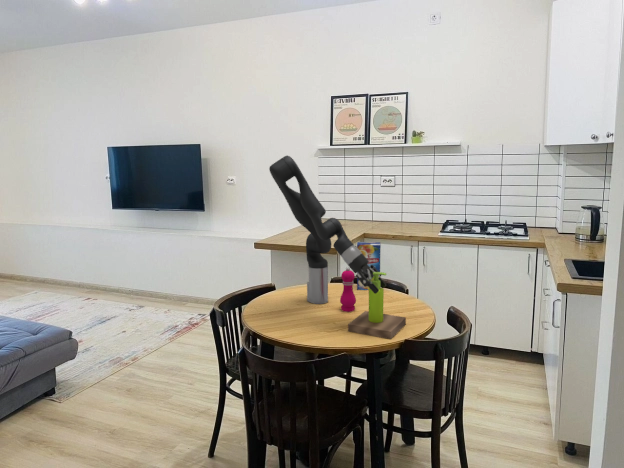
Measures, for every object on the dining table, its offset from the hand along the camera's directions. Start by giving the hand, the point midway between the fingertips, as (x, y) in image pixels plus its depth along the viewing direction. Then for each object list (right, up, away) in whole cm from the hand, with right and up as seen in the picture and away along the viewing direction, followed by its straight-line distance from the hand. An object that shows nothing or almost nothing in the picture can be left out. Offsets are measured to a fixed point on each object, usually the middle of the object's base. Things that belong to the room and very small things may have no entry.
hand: (381, 289), depth 187 cm
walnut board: (-1, -16, +3) cm, 16 cm away
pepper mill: (-11, -12, +26) cm, 31 cm away
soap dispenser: (-1, -13, +3) cm, 14 cm away
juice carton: (+2, -7, +60) cm, 60 cm away
